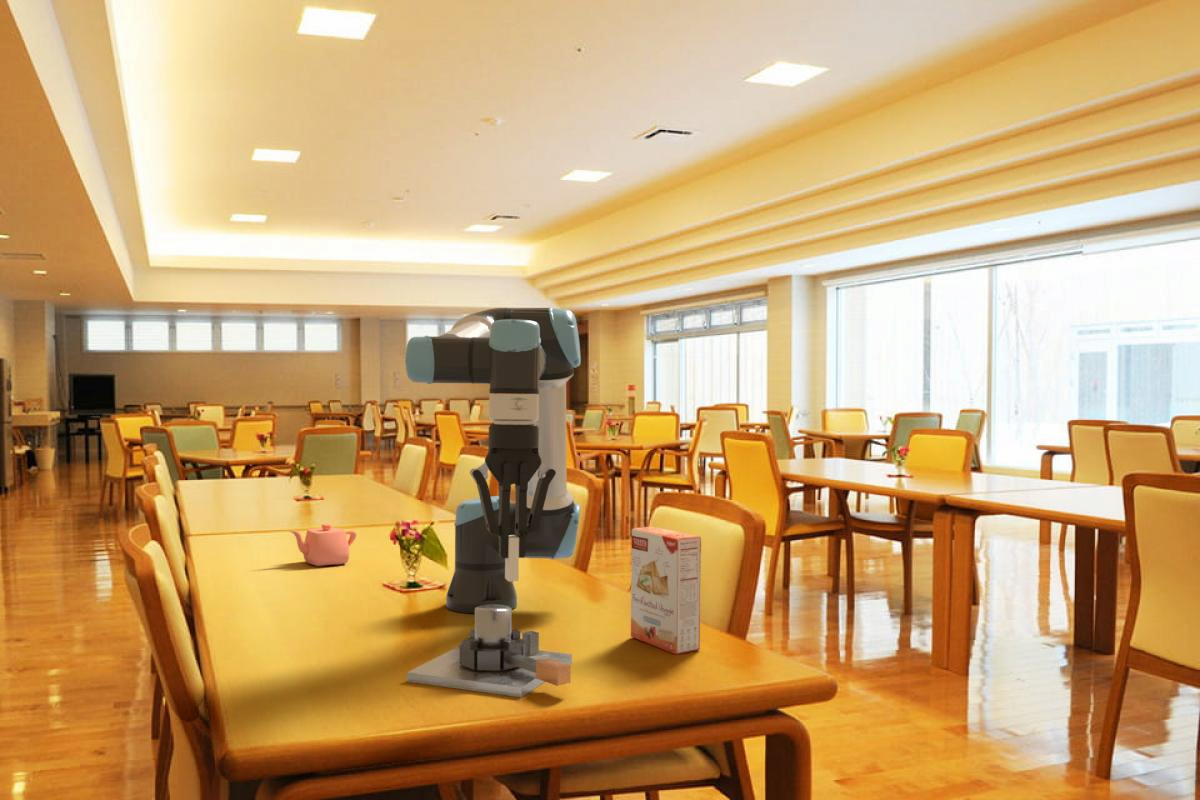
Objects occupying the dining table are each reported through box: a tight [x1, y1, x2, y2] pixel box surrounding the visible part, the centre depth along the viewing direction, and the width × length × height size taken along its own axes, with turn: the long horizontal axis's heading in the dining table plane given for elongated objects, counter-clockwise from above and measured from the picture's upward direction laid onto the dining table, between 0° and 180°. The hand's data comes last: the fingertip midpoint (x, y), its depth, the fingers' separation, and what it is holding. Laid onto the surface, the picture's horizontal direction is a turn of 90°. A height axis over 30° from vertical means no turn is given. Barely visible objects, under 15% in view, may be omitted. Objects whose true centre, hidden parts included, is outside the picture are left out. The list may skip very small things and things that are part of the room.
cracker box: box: [630, 526, 702, 655], centre depth 176 cm, size 14×6×21 cm, turn 34°
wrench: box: [459, 629, 572, 687], centre depth 153 cm, size 23×10×4 cm, turn 44°
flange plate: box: [406, 604, 573, 698], centre depth 158 cm, size 20×20×10 cm
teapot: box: [289, 523, 358, 567], centre depth 252 cm, size 12×18×10 cm, turn 124°
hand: (511, 579), depth 144 cm, fingers closed
